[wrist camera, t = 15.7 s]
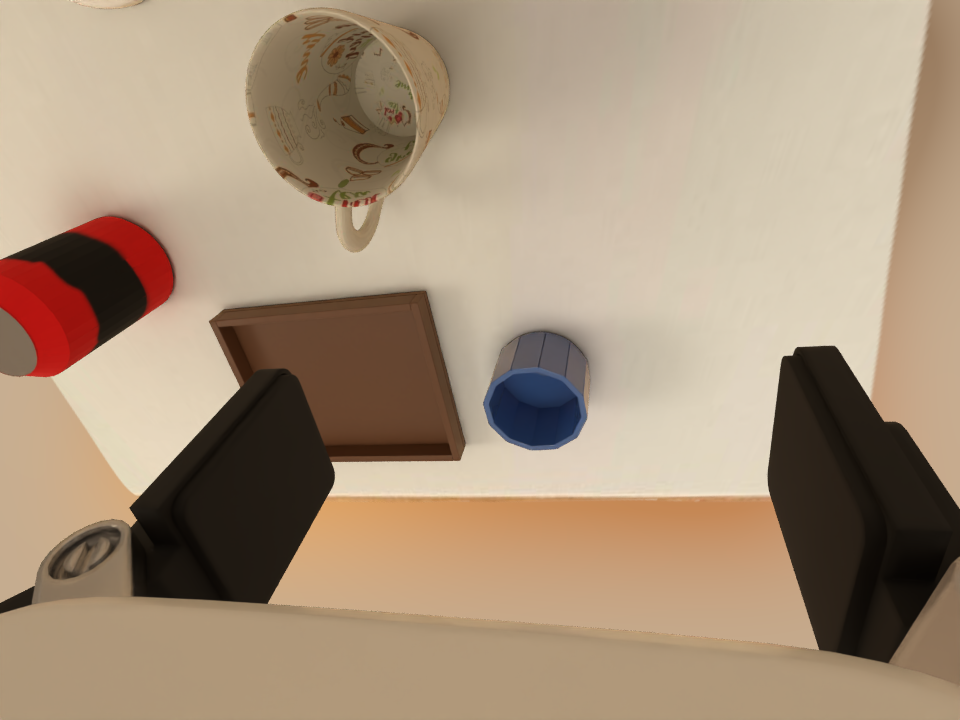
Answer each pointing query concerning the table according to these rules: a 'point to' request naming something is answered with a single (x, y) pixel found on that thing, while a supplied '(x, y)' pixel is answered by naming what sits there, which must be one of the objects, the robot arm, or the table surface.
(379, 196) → the mug
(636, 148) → the table surface
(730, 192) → the table surface
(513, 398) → the bowl
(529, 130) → the table surface
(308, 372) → the tray
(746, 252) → the table surface
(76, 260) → the soda can
